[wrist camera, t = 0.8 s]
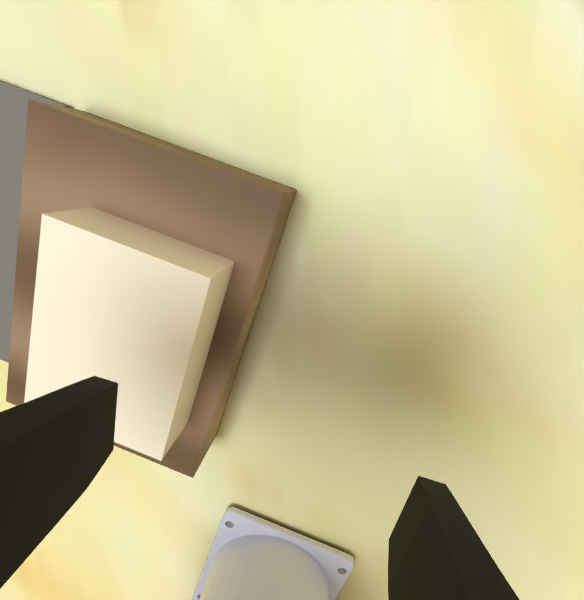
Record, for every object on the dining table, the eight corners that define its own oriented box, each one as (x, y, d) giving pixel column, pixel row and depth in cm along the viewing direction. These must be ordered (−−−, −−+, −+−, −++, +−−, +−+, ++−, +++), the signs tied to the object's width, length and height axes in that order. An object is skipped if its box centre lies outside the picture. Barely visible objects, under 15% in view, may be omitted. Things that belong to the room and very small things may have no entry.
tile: (187, 422, 17) (161, 461, 15) (68, 374, 18) (24, 404, 15) (234, 261, 15) (210, 278, 12) (91, 207, 15) (41, 213, 13)
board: (214, 437, 21) (192, 477, 18) (51, 371, 22) (6, 401, 19) (296, 189, 16) (283, 193, 14) (83, 111, 17) (28, 98, 14)
